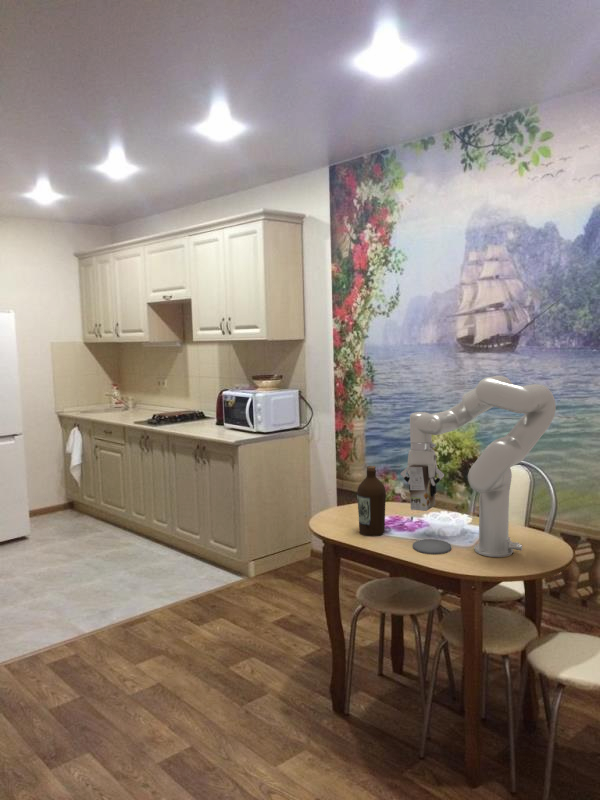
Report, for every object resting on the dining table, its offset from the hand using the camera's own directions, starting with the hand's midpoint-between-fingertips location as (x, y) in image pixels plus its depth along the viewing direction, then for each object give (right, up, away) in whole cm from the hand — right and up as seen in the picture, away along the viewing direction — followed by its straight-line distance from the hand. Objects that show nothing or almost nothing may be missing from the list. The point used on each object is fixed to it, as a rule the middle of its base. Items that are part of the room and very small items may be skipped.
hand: (422, 494), depth 238 cm
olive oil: (-18, -15, +7) cm, 25 cm away
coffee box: (0, -5, 0) cm, 5 cm away
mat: (+1, -17, -12) cm, 20 cm away
